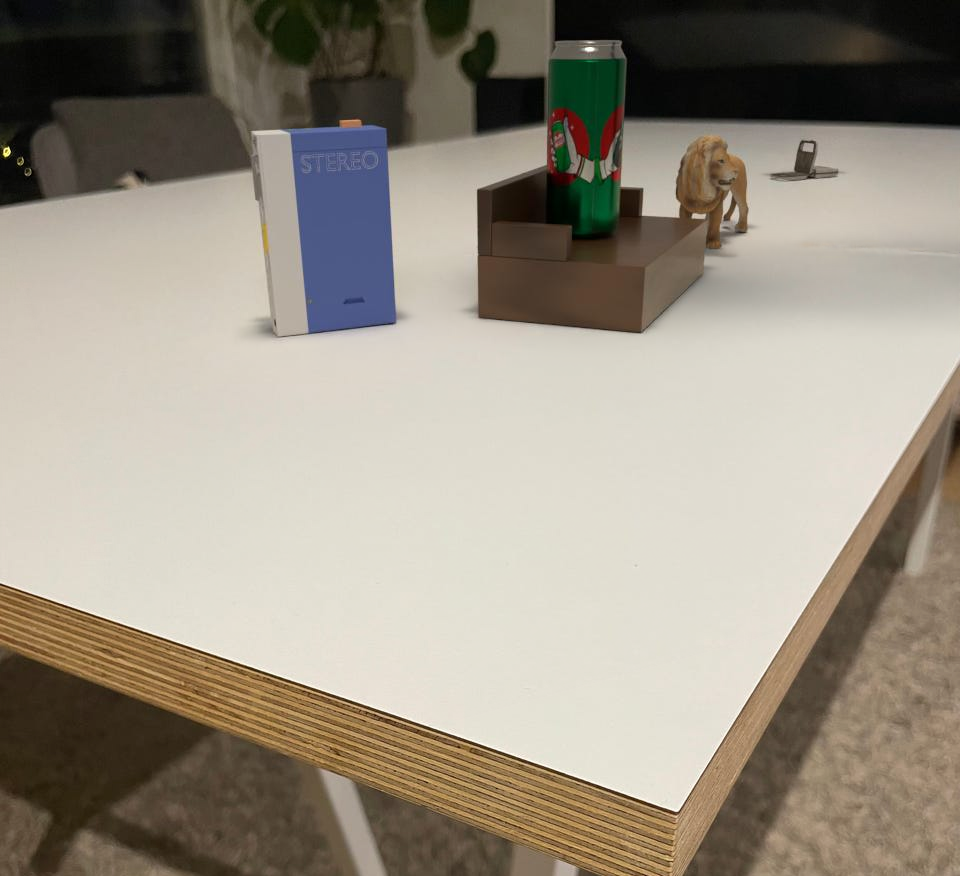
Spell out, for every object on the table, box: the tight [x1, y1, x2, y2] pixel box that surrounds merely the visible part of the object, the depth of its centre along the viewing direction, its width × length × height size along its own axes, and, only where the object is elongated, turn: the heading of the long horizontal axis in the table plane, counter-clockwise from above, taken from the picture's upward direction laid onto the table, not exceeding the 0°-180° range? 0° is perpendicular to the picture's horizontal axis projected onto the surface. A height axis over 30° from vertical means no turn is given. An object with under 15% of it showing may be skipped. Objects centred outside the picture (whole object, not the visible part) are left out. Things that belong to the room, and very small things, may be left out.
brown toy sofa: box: [476, 164, 708, 334], centre depth 72 cm, size 11×18×8 cm, turn 157°
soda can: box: [546, 39, 628, 239], centre depth 70 cm, size 5×5×12 cm
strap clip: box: [769, 138, 839, 181], centre depth 124 cm, size 8×3×4 cm, turn 115°
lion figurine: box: [675, 134, 750, 249], centre depth 89 cm, size 15×5×9 cm, turn 160°
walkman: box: [250, 119, 397, 338], centre depth 64 cm, size 8×3×12 cm, turn 112°
